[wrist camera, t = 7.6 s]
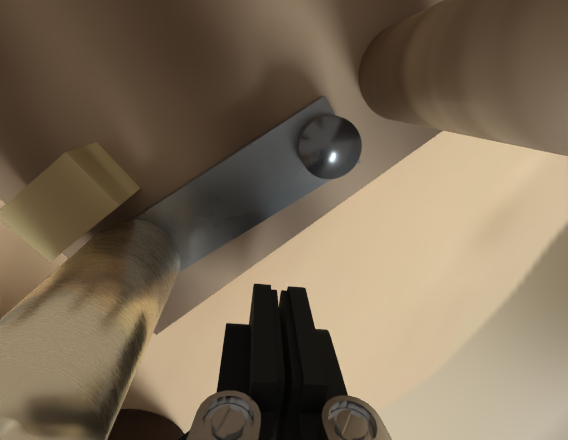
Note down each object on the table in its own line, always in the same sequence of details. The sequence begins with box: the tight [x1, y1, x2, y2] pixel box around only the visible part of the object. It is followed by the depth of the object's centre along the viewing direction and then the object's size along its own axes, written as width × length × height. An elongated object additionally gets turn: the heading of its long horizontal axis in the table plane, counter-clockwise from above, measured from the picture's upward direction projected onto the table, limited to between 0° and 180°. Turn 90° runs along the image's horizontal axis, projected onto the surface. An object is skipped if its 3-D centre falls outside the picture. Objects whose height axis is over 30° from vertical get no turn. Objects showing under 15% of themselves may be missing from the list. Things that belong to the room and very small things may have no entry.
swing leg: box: [0, 95, 362, 440], centre depth 9 cm, size 10×3×7 cm, turn 122°
